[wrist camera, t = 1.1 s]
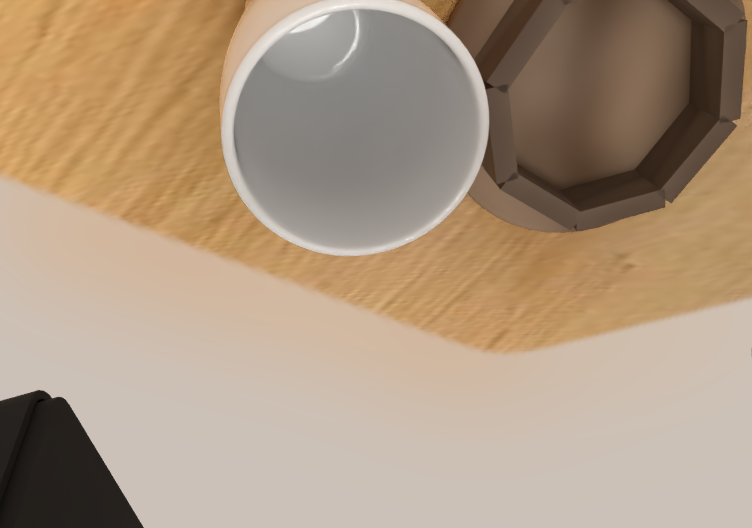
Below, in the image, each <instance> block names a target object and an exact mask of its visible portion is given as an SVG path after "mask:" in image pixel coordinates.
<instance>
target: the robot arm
mask: <svg viewBox="0 0 752 528" xmlns="http://www.w3.org/2000/svg"><path fill="white" fill-rule="evenodd" d="M0 528H144V527H143V526H142V524H141V523H140V521H139V519H138V518H137V516H136V514H135V513H134V511H133V509H132V508H131V506H130V504H129V503H128V501H127V499H126V498H125V496H124V494H123V493H122V491H121V489H120V488H119V486H118V484H117V483H116V481H115V480H114V478H113V476H112V475H111V473H110V471H109V470H108V468H107V466H106V465H105V463H104V461H103V460H102V458H101V456H100V455H99V453H98V452H97V450H96V448H95V446H94V445H93V443H92V442H91V440H90V438H89V437H88V435H87V433H86V432H85V430H84V428H83V427H82V425H81V423H80V422H79V420H78V418H77V417H76V415H75V413H74V412H73V410H72V408H71V407H70V405H69V404H68V403H67V401H66V400H65V399H64V398H62V397H56V398H51V396H50V395H49V394H48V393H46V392H45V391H40V390H38V391H35V392H31V393H27V394H24V395H20V396H17V397H13V398H9V399H6V400H2V401H0Z"/></svg>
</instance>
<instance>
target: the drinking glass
mask: <svg viewBox="0 0 752 528" xmlns="http://www.w3.org/2000/svg"><path fill="white" fill-rule="evenodd" d="M219 107H220V128H221V141H222V149H223V155H224V159H225V164H226V167H227V170H228V173H229V176H230V179H231V181H232V183H233V185H234V187H235V189H236V191H237V193H238V194H239V196H240V198H241V199H242V201H243V202H244V203H245V205H246V206H247V207H248V209H249V210H250V211H251V212H252V213H253V215H254V216H255V217H256V218H257V219H258V220H259V221H260V222H261V223H263V224H264V225H265V226H266V227H267V228H268V229H270V230H271V231H273V232H274V233H275V234H277V235H278V236H280V237H282V238H283V239H285V240H287V241H289V242H291V243H293V244H295V245H297V246H300V247H302V248H305V249H308V250H311V251H315V252H319V253H323V254H329V255H338V256H361V255H370V254H376V253H381V252H385V251H388V250H392V249H395V248H397V247H400V246H403V245H405V244H407V243H409V242H412V241H414V240H416V239H417V238H419V237H421V236H423V235H424V234H426V233H427V232H429V231H430V230H432V229H433V228H434V227H436V226H437V225H438V224H439V223H441V222H442V221H443V220H444V219H445V218H446V217H447V216H448V215H449V214H450V213H451V212H452V211H453V210H454V209H455V208H456V207H457V206H458V204H459V203H460V202H461V201H462V199H463V198H464V196H465V195H466V194H467V192H468V191H469V189H470V187H471V185H472V184H473V182H474V180H475V178H476V176H477V174H478V172H479V169H480V167H481V164H482V161H483V158H484V154H485V151H486V147H487V141H488V134H489V107H488V99H487V94H486V90H485V86H484V83H483V80H482V77H481V74H480V72H479V69H478V67H477V65H476V63H475V61H474V59H473V58H472V56H471V54H470V53H469V51H468V50H467V48H466V47H465V46H464V44H463V43H462V42H461V40H460V39H459V38H458V37H457V36H456V35H455V34H454V33H453V32H452V31H451V29H450V28H449V27H448V26H447V25H446V24H445V23H444V22H443V21H442V20H441V19H440V18H439V17H438V16H437V15H436V13H434V12H433V11H432V10H431V9H430V8H429V7H428V6H427V5H425V4H424V3H423V2H422V1H421V0H246V3H245V8H244V12H243V14H242V16H241V18H240V20H239V22H238V24H237V26H236V28H235V30H234V33H233V35H232V38H231V40H230V43H229V46H228V49H227V53H226V56H225V60H224V65H223V70H222V76H221V85H220V100H219Z"/></svg>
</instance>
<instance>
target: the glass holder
mask: <svg viewBox="0 0 752 528" xmlns="http://www.w3.org/2000/svg"><path fill="white" fill-rule="evenodd" d="M446 25H447V26H448V27H449V28H450V29H451V31H452V32H453V33H454V34H455V35H456V36H457V37H458V38H459V39H460V40H461V42H462V43H463V44H464V46H465V47H466V48H467V50H468V51H469V53H470V54H471V56H472V58H473V59H474V61H475V63H476V65H477V67H478V69H479V72H480V74H481V77H482V80H483V83H484V86H485V90H486V94H487V99H488V107H489V134H488V141H487V147H486V151H485V154H484V158H483V161H482V164H481V167H480V169H479V172H478V174H477V176H476V178H475V180H474V182H473V184H472V185H471V187H470V189H469V191H468V192H467V193H468V194H469V196H470V197H472V198H473V199H474V200H475V201H476V202H477V203H478V204H479V205H480V206H481V207H483V208H484V209H486V210H487V211H489V212H490V213H492V214H493V215H495V216H496V217H498V218H500V219H502V220H504V221H506V222H509V223H511V224H513V225H516V226H520V227H523V228H526V229H530V230H537V231H543V232H574V231H583V230H588V229H592V228H597V227H601V226H604V225H607V224H610V223H613V222H616V221H618V220H621V219H624V218H627V217H631V216H635V215H638V214H642V213H646V212H649V211H653V210H657V209H660V208H664V207H665V199H666V200H667V201H669V202H670V203H672V202H673V201H674V199H675V198H676V197H677V196H678V195H679V193H680V192H681V191H682V190H683V189H684V188H685V186H686V185H687V184H688V183H689V182H690V181H691V179H692V178H693V177H694V176H695V175H696V173H697V172H698V171H699V170H700V169H701V168H702V166H703V165H704V164H705V163H706V162H707V161H708V159H709V158H710V157H711V156H712V155H713V154H714V152H715V151H716V150H717V149H718V148H719V146H720V145H721V144H722V143H723V142H724V141H725V139H726V138H727V137H728V136H729V135H730V134H731V132H732V131H733V130H734V129H735V128H736V126H737V125H736V124H734V123H733V122H732V121H733V120H737V119H740V115H741V101H742V87H743V73H744V60H745V53H746V31H747V20H745V12H744V6H743V2H742V0H459V1H458V3H457V4H456V6H455V8H454V10H453V12H452V13H451V15H450V17H449V19H448V22H447V24H446Z"/></svg>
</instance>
